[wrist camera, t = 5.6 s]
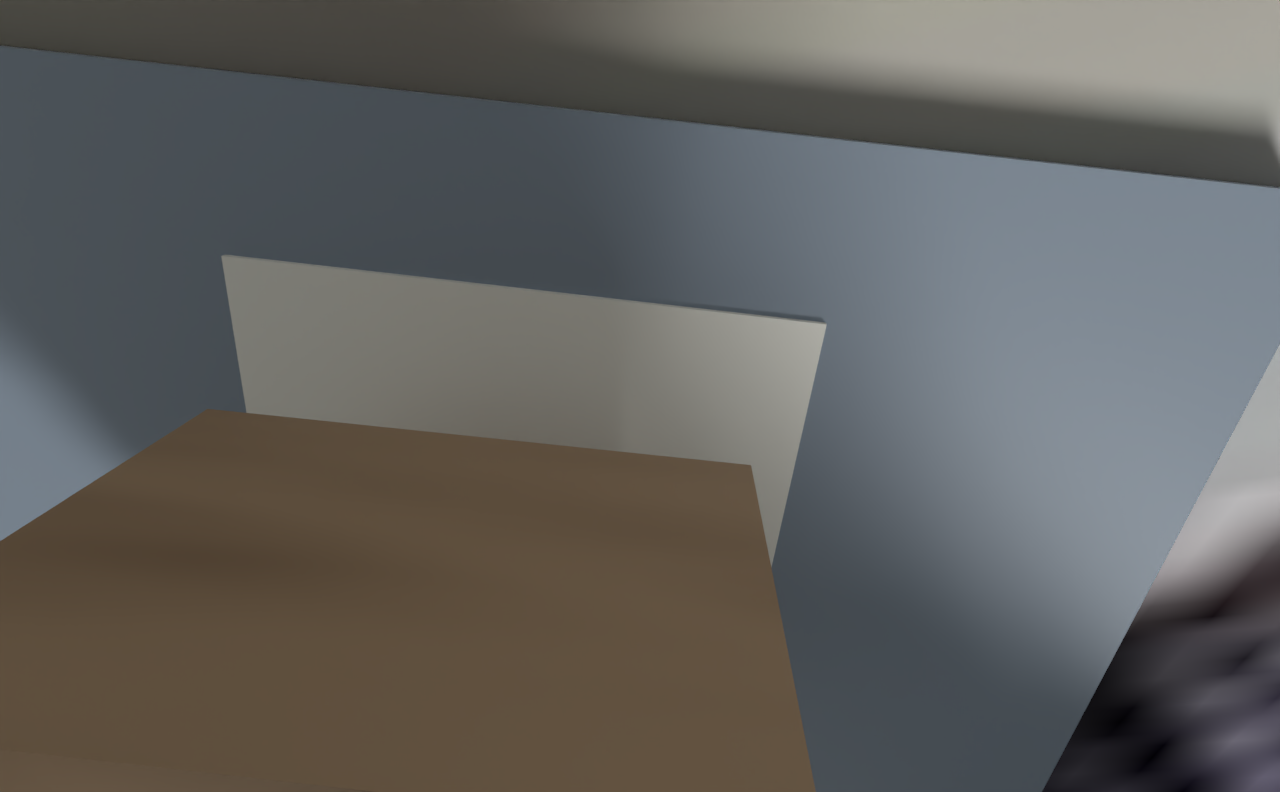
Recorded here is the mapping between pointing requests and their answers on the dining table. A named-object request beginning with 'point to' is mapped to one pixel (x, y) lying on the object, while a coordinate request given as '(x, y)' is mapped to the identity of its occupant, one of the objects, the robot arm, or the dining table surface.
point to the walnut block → (395, 620)
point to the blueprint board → (670, 350)
